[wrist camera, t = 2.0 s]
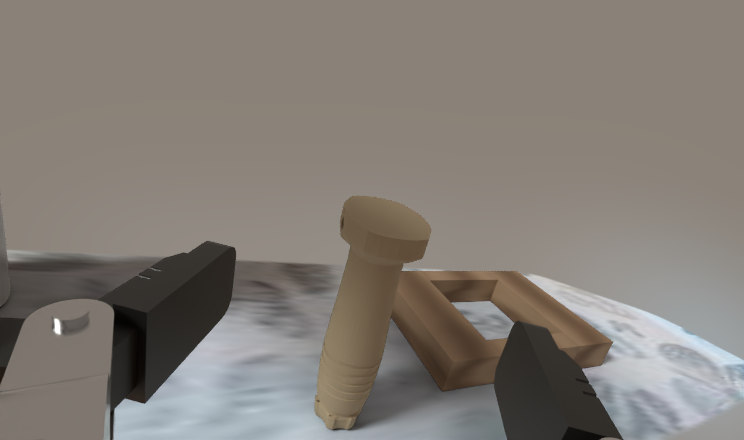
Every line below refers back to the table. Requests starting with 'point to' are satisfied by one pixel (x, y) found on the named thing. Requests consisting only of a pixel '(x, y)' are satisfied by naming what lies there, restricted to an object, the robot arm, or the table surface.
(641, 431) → the table surface
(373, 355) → the handle
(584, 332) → the wooden rectangular frame
